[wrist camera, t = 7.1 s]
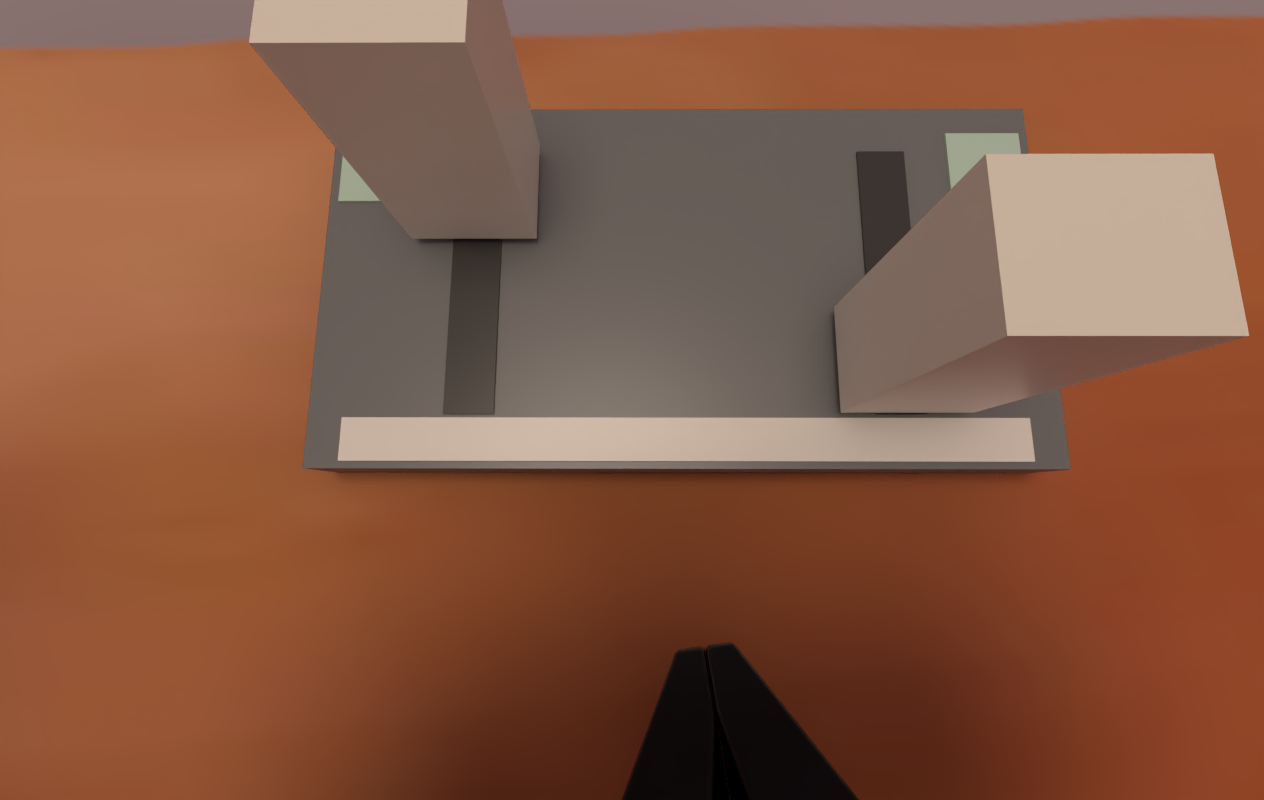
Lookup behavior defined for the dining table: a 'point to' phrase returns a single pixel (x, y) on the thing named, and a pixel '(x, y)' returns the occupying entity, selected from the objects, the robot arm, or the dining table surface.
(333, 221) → the switch block
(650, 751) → the robot arm
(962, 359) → the block
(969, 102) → the dining table surface
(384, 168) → the switch tab
